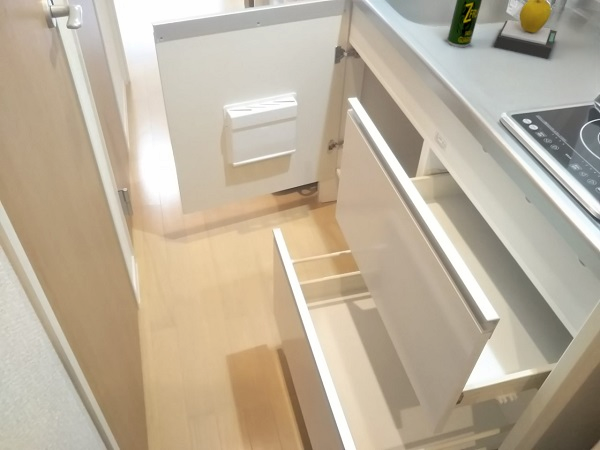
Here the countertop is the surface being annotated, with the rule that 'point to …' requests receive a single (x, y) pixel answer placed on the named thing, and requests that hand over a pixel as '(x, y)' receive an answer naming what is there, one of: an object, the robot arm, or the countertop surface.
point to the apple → (534, 15)
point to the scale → (525, 39)
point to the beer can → (463, 22)
